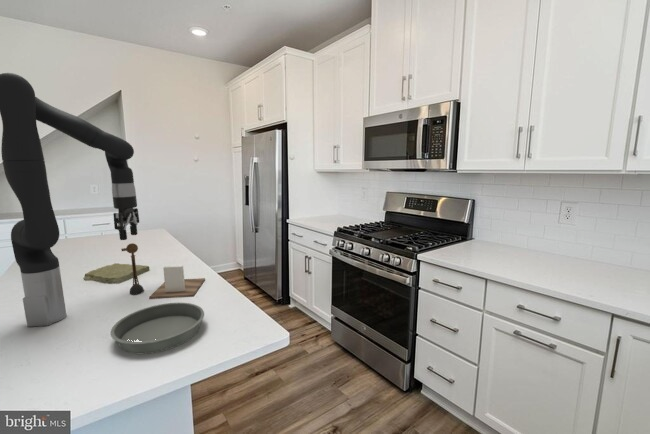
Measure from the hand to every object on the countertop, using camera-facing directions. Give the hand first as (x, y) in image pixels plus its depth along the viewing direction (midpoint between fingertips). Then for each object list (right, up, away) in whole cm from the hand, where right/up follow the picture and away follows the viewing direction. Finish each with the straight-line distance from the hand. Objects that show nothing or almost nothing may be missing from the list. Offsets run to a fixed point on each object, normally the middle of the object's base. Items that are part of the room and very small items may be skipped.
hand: (129, 237), depth 122 cm
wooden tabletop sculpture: (0, -22, +4) cm, 23 cm away
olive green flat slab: (-21, -20, +24) cm, 37 cm away
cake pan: (+26, -27, -27) cm, 47 cm away
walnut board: (+16, -21, +7) cm, 28 cm away
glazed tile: (+16, -16, +2) cm, 23 cm away
